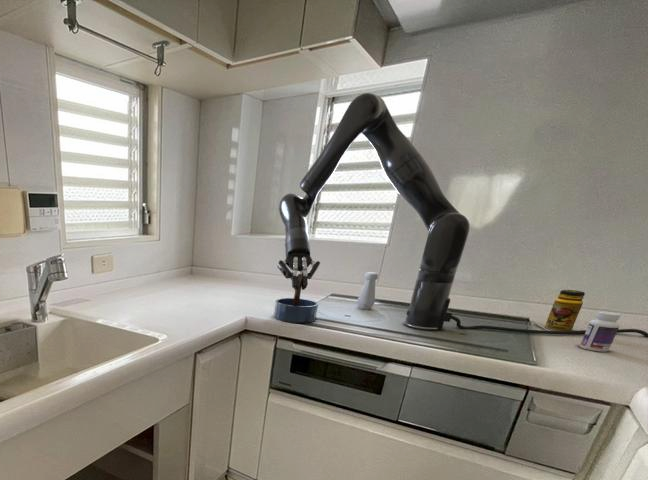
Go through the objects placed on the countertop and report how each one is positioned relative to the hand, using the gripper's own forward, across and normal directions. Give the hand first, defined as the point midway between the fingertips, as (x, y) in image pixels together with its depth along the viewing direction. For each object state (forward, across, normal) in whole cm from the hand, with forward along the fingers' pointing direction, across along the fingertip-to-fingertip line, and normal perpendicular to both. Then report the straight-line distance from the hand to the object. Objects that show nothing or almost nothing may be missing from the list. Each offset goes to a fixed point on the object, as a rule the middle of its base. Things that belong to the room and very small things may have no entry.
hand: (300, 288), depth 127 cm
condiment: (+6, +80, +10) cm, 80 cm away
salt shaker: (-9, +30, +25) cm, 40 cm away
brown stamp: (+5, 0, +8) cm, 10 cm away
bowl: (+5, 0, +10) cm, 11 cm away
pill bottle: (+21, +73, -5) cm, 76 cm away
